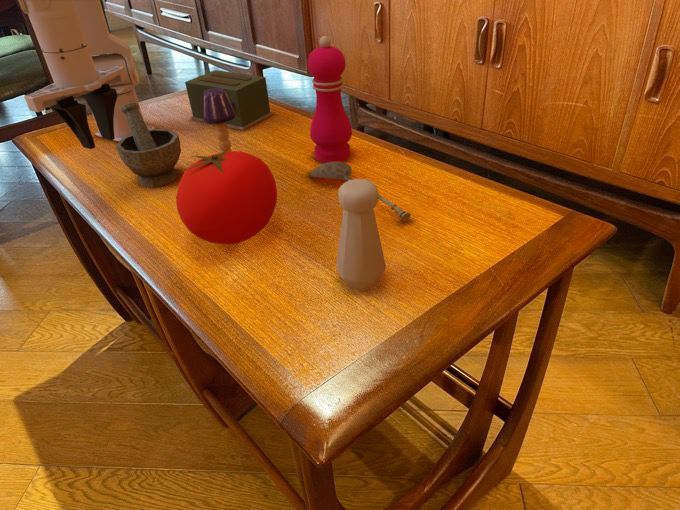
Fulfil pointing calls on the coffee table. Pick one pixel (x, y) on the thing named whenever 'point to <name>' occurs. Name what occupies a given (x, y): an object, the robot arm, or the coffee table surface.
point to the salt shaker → (359, 236)
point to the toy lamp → (218, 114)
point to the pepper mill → (329, 104)
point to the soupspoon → (343, 173)
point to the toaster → (232, 96)
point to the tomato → (226, 197)
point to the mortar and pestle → (148, 150)
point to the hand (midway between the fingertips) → (99, 142)
